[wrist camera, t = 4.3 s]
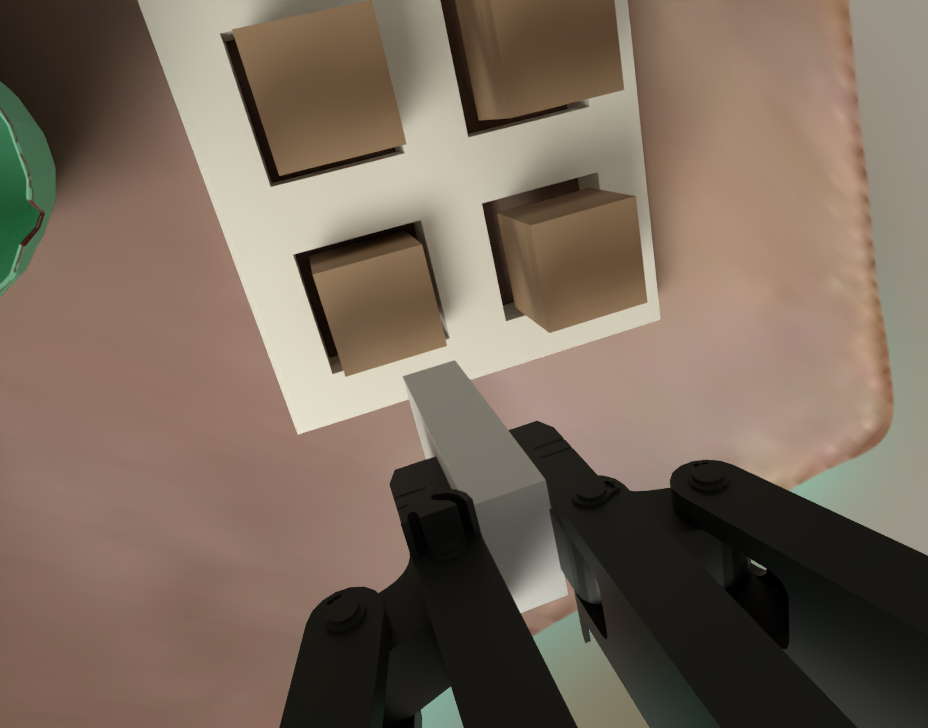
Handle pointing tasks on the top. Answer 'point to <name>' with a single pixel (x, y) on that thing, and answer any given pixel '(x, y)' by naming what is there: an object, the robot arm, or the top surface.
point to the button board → (393, 195)
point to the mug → (22, 187)
